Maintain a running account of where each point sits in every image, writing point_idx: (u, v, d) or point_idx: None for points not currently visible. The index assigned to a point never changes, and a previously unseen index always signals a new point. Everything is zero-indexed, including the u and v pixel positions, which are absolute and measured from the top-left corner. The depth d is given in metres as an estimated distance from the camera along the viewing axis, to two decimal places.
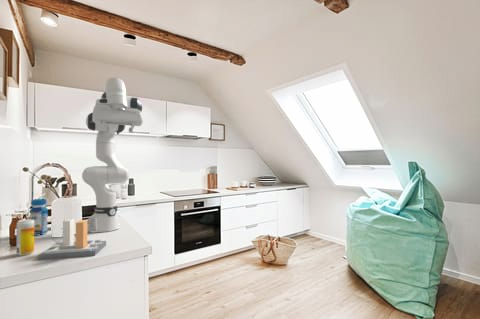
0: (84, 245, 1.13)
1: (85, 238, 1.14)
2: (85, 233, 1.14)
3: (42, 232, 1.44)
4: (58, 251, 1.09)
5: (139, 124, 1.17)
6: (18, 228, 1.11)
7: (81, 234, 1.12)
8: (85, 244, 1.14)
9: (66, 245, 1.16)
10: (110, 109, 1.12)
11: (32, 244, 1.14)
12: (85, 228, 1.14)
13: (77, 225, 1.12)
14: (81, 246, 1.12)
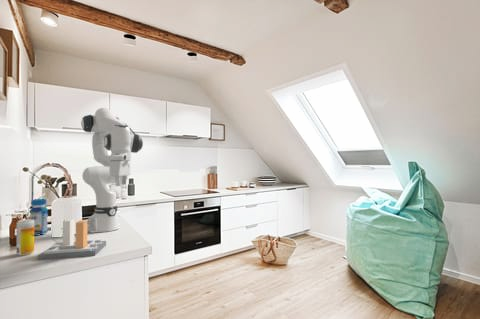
0: (84, 245, 1.13)
1: (85, 238, 1.14)
2: (85, 233, 1.14)
3: (42, 232, 1.44)
4: (58, 251, 1.09)
5: None
6: (18, 228, 1.11)
7: (81, 234, 1.12)
8: (85, 244, 1.14)
9: (66, 245, 1.16)
10: (123, 164, 1.22)
11: (32, 244, 1.14)
12: (85, 228, 1.14)
13: (77, 225, 1.12)
14: (81, 246, 1.12)
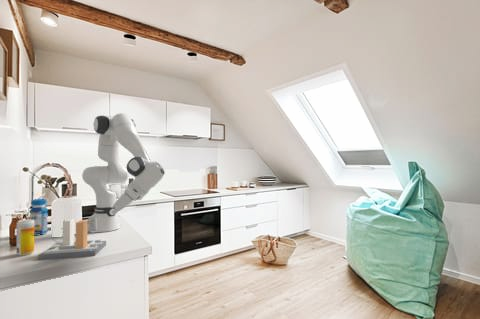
0: (84, 245, 1.13)
1: (85, 238, 1.14)
2: (85, 233, 1.14)
3: (42, 232, 1.44)
4: (58, 251, 1.09)
5: None
6: (18, 228, 1.11)
7: (81, 234, 1.12)
8: (85, 244, 1.14)
9: (66, 245, 1.16)
10: None
11: (32, 244, 1.14)
12: (85, 228, 1.14)
13: (77, 225, 1.12)
14: (81, 246, 1.12)
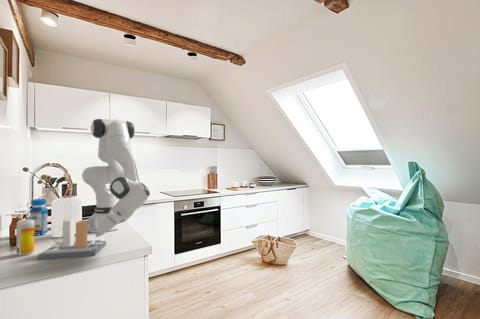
0: (84, 245, 1.13)
1: (85, 238, 1.14)
2: (85, 233, 1.14)
3: (42, 232, 1.44)
4: (58, 251, 1.09)
5: None
6: (18, 228, 1.11)
7: (81, 234, 1.12)
8: (85, 244, 1.14)
9: (66, 245, 1.16)
10: None
11: (32, 244, 1.14)
12: (85, 228, 1.14)
13: (77, 225, 1.12)
14: (81, 246, 1.12)
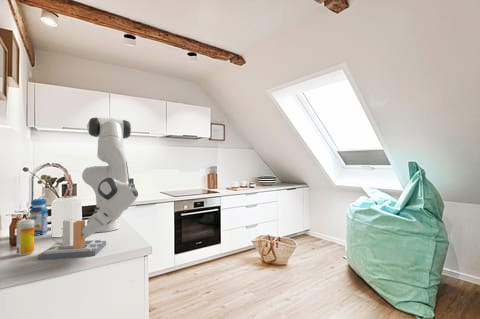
0: (81, 245, 1.13)
1: (83, 238, 1.14)
2: (82, 233, 1.14)
3: (42, 232, 1.44)
4: (58, 251, 1.09)
5: None
6: (18, 228, 1.11)
7: (78, 234, 1.12)
8: (83, 244, 1.14)
9: (66, 245, 1.16)
10: None
11: (32, 244, 1.14)
12: (83, 228, 1.14)
13: (74, 225, 1.11)
14: (78, 246, 1.12)
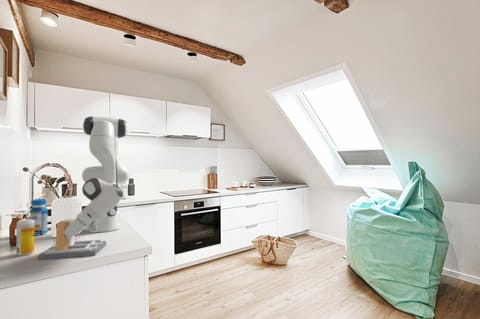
0: (65, 246, 1.12)
1: (66, 239, 1.13)
2: None
3: (42, 232, 1.44)
4: (58, 251, 1.09)
5: None
6: (18, 228, 1.11)
7: (62, 235, 1.10)
8: (66, 245, 1.13)
9: None
10: None
11: (32, 244, 1.14)
12: None
13: (58, 226, 1.10)
14: (62, 247, 1.10)
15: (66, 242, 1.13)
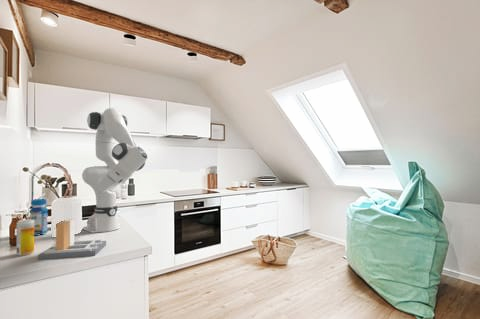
0: (65, 246, 1.12)
1: (66, 239, 1.13)
2: (65, 234, 1.12)
3: (42, 232, 1.44)
4: (58, 251, 1.09)
5: None
6: (18, 228, 1.11)
7: (61, 235, 1.10)
8: (66, 245, 1.13)
9: None
10: None
11: (32, 244, 1.14)
12: (66, 229, 1.13)
13: (57, 226, 1.10)
14: (61, 247, 1.10)
15: (66, 242, 1.13)
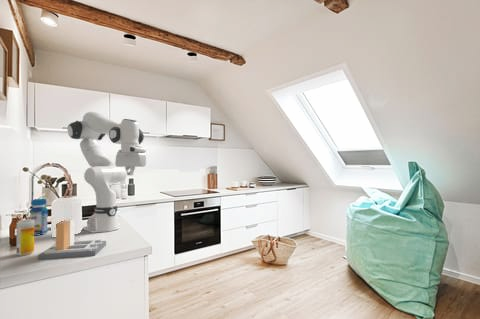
0: (65, 246, 1.12)
1: (66, 239, 1.13)
2: (65, 234, 1.12)
3: (42, 232, 1.44)
4: (58, 251, 1.09)
5: None
6: (18, 228, 1.11)
7: (61, 235, 1.10)
8: (66, 245, 1.13)
9: None
10: None
11: (32, 244, 1.14)
12: (66, 229, 1.13)
13: (57, 226, 1.10)
14: (61, 247, 1.10)
15: (66, 242, 1.13)
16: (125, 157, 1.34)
